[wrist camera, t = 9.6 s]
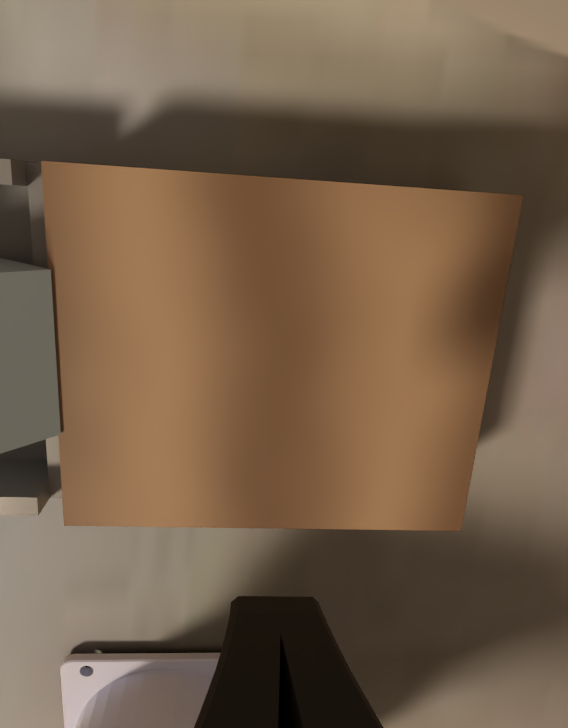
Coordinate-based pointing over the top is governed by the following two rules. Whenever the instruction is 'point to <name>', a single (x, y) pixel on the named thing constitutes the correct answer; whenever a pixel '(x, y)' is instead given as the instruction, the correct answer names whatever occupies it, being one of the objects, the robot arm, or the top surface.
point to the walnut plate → (270, 347)
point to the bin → (28, 245)
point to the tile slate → (27, 356)
